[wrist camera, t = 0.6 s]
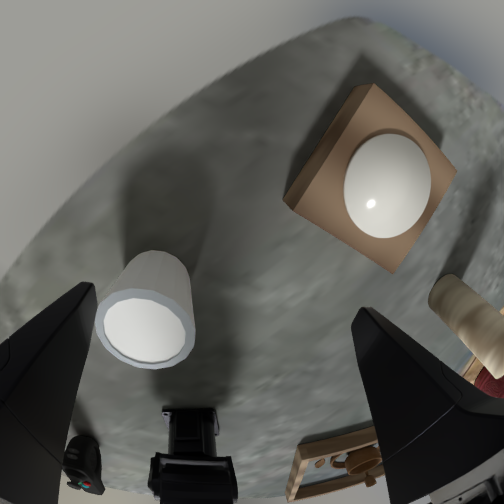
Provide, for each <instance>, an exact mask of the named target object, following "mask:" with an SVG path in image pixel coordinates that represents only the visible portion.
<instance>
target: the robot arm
mask: <svg viewBox="0 0 504 504" xmlns="http://www.w3.org/2000/svg"><path fill="white" fill-rule="evenodd" d="M96 312H97V297H96V291H95V286H94V284H93V283H90V282H80V283H79V284H78V285H76V286H75V287H73V288H72V289H71V290H69V291H68V292H66V293H65V294H64V295H62V296H61V297H60V298H58V299H57V300H56V301H54V302H53V303H52V304H50V305H49V306H48V307H46V308H45V309H44V310H42V311H41V312H40V313H39V314H37V315H36V316H35V317H33V318H32V319H31V320H30V321H28V322H27V323H26V324H25V325H23V326H22V327H21V328H20V329H18V330H17V331H16V332H15V333H13V334H12V335H11V336H10V337H9V339H8V338H7V339H6V340H5V341H4V342H2V343H1V344H0V504H58V495H59V486H60V479H61V471H62V463H63V457H64V451H65V445H66V440H67V435H68V430H69V425H70V420H71V416H72V411H73V407H74V403H75V399H76V395H77V391H78V387H79V383H80V379H81V376H82V372H83V368H84V365H85V361H86V358H87V355H88V351H89V346H90V341H91V336H92V331H93V326H94V321H95V317H96ZM351 331H352V336H353V341H354V346H355V352H356V357H357V362H358V367H359V371H360V374H361V378H362V381H363V385H364V388H365V392H366V396H367V400H368V403H369V407H370V411H371V415H372V419H373V423H374V427H375V431H376V435H377V440H378V444H379V448H380V453H381V457H382V462H383V467H384V472H385V477H386V482H387V487H388V492H389V498H390V503H391V504H409V503H411V502H413V501H416V500H418V499H420V498H422V497H424V496H426V495H428V494H429V496H430V498H431V502H430V503H428V504H504V398H496V397H492V396H489V395H487V394H486V393H484V392H483V391H481V390H480V389H478V388H477V387H476V386H474V385H473V384H471V383H470V382H468V381H467V380H466V379H464V378H463V377H461V376H460V375H459V374H457V373H456V372H455V371H453V370H452V369H451V368H449V367H448V366H447V365H446V364H444V363H443V362H442V361H439V359H438V358H437V357H435V356H434V355H433V354H432V353H430V352H429V351H428V350H427V349H425V348H424V347H423V346H421V345H420V344H419V343H418V342H416V341H415V340H414V339H412V338H411V337H410V336H409V335H407V334H406V333H405V332H403V331H402V330H401V329H400V328H398V327H397V326H396V325H394V324H393V323H392V322H390V321H389V320H388V319H387V318H385V317H384V316H383V315H381V314H380V313H379V312H377V311H376V310H375V309H373V308H372V307H361V308H360V309H359V311H358V313H357V315H356V316H355V318H354V320H353V322H352V325H351ZM162 416H163V418H164V421H165V423H166V425H167V428H168V430H169V444H168V454H162V453H159V452H156V455H155V457H152V458H151V465H150V473H149V479H148V488H149V489H150V490H151V491H152V494H154V499H155V500H160V504H233V503H236V502H237V499H238V487H237V480H236V476H235V472H234V468H233V463H232V459H231V456H226V457H217V453H216V442H215V436H219V429H218V424H217V419H216V414H215V410H214V409H213V408H205V409H180V410H162Z"/></svg>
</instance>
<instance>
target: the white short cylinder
mask: <svg viewBox="0 0 504 504" xmlns="http://www.w3.org/2000/svg"><path fill="white" fill-rule="evenodd" d="M95 326H96V332H97V335H98V337H99V338H100V340H101V342H102V343H103V345H104V346H105V348H106V349H107V350H108V351H109V352H111V353H112V354H113V355H114V356H116V357H117V358H118V359H119V360H121V361H123V362H126V363H128V364H131V365H133V366H135V367H140V368H147V369H160V368H166V367H172V366H174V365H175V364H177V363H179V362H180V361H182V360H184V359H186V357H187V356H188V354H189V353H190V352H191V350H192V349H193V347H194V343H195V331H196V330H195V322H194V313H193V304H192V295H191V285H190V278H189V275H188V272H187V269H186V267H185V266H184V265H183V264H182V263H181V261H180V260H179V259H178V258H177V257H175V256H173V255H171V254H169V253H167V252H165V251H156V250H150V251H146V252H143V253H139V254H138V255H137V256H136V257H135V258H133V259H132V260H131V261H130V262H129V263H128V265H127V266H126V267H125V269H124V270H123V272H122V273H121V274H120V276H119V277H118V278H117V280H116V281H115V283H114V284H113V285H112V287H111V288H110V290H109V291H108V292H107V294H106V295H105V297H104V298H103V300H102V301H101V303H100V304H99V307H98V310H97V313H96V317H95Z"/></svg>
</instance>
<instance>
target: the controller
mask: <svg viewBox="0 0 504 504" xmlns="http://www.w3.org/2000/svg"><path fill="white" fill-rule="evenodd" d="M62 470H63V471H64V472H65V473H66V475H67V476H68V478H69V479H70V480H71V482H67V485H68V486H69V487H72V488H74V489H77V490H80V489H81V488H82V489H83V490H84V491H86V492H88V493H92V494H97V495H102V494H103V493H104V491H105V487H104V485H103V483H102V480H101V470H102V465H101V454H100V450H99V446H98V444H97V443H96V442H95V441H94V440H93V439H91V438H88V437H84V436H75V437H73V438H72V439H71V440H70V442H69V444H68V446H67V448H66V451H65V452H64V457H63V463H62Z"/></svg>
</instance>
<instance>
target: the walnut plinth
mask: <svg viewBox="0 0 504 504" xmlns="http://www.w3.org/2000/svg"><path fill="white" fill-rule="evenodd" d="M456 173H457V170H456V169H455V167H454V166H453V165H452V164H451V162H450V161H449V160H448V159H447V157H446V156H445V155H444V154H443V153H442V151H441V150H440V149H439V148H438V147H437V146H436V144H435V143H434V142H433V141H432V140H431V139H430V138H429V137H428V135H427V134H426V133H425V132H424V131H423V130H422V129H421V128H420V127H419V126H418V125H417V124H416V123H415V122H414V121H413V119H412V118H411V117H410V116H409V115H408V114H407V113H406V112H405V111H404V110H403V109H402V108H401V107H399V106H398V105H397V104H396V103H395V102H394V101H393V100H392V99H391V98H390V97H389V96H388V95H387V94H386V93H385V92H383V91H382V90H381V89H380V88H379V87H378V86H377V85H376V84H374V83H371V84H365V85H359V86H355V87H354V88H353V90H352V91H351V93H350V95H349V96H348V98H347V99H346V101H345V102H344V104H343V106H342V107H341V109H340V110H339V112H338V113H337V115H336V117H335V118H334V120H333V121H332V123H331V124H330V126H329V128H328V129H327V131H326V132H325V134H324V135H323V137H322V138H321V140H320V142H319V143H318V145H317V146H316V148H315V149H314V151H313V153H312V154H311V156H310V157H309V159H308V161H307V162H306V164H305V165H304V167H303V168H302V170H301V172H300V173H299V175H298V176H297V178H296V179H295V181H294V183H293V184H292V186H291V187H290V189H289V190H288V192H287V194H286V195H285V197H284V198H283V201H284V202H285V203H286V204H287V205H288V206H289V207H290V209H291V210H292V211H294V212H295V213H297V214H299V215H300V216H302V217H304V218H305V219H307V220H309V221H310V222H312V223H314V224H315V225H317V226H319V227H320V228H322V229H323V230H325V231H327V232H328V233H330V234H331V235H333V236H335V237H336V238H338V239H339V240H341V241H343V242H344V243H346V244H347V245H349V246H351V247H352V248H354V249H355V250H357V251H358V252H360V253H361V254H363V255H365V256H366V257H368V258H369V259H371V260H372V261H374V262H375V263H377V264H378V265H380V266H381V267H383V268H384V269H386V270H387V271H389V272H390V273H392V274H393V273H394V272H395V271H396V269H397V268H398V266H399V265H400V263H401V262H402V261H403V259H404V258H405V256H406V255H407V253H408V252H409V250H410V249H411V247H412V246H413V244H414V243H415V241H416V240H417V238H418V237H419V235H420V234H421V232H422V231H423V229H424V227H425V226H426V224H427V223H428V221H429V219H430V218H431V216H432V215H433V213H434V211H435V210H436V208H437V206H438V205H439V203H440V201H441V200H442V198H443V196H444V194H445V193H446V191H447V189H448V187H449V185H450V184H451V182H452V180H453V178H454V176H455V174H456Z"/></svg>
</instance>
